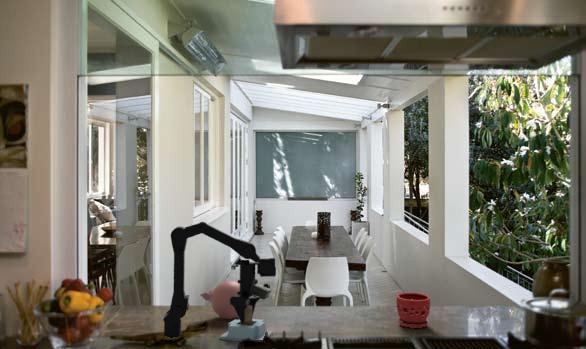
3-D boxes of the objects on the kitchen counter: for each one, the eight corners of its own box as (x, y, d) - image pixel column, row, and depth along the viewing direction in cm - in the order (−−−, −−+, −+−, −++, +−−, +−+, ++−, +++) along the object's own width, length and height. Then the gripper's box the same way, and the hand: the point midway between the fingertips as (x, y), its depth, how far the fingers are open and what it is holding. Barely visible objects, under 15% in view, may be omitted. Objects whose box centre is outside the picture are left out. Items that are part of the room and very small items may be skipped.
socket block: (261, 343, 176) (261, 328, 176) (219, 339, 181) (219, 325, 181) (272, 334, 188) (273, 320, 188) (233, 330, 192) (233, 317, 192)
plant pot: (389, 324, 204) (389, 294, 205) (415, 320, 210) (415, 291, 211) (411, 332, 193) (411, 300, 193) (437, 328, 199) (437, 297, 199)
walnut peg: (249, 335, 182) (249, 307, 182) (239, 334, 183) (239, 307, 183) (253, 332, 186) (253, 305, 186) (243, 331, 187) (243, 304, 187)
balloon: (204, 313, 219) (205, 277, 220) (250, 314, 218) (251, 278, 218) (195, 322, 204) (196, 283, 204) (244, 323, 202) (245, 284, 203)
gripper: (259, 282, 174) (258, 328, 173) (276, 274, 192) (276, 315, 191) (229, 280, 177) (228, 325, 176) (249, 272, 195) (248, 313, 194)
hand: (246, 320), depth 184 cm, fingers open, 8 cm apart
